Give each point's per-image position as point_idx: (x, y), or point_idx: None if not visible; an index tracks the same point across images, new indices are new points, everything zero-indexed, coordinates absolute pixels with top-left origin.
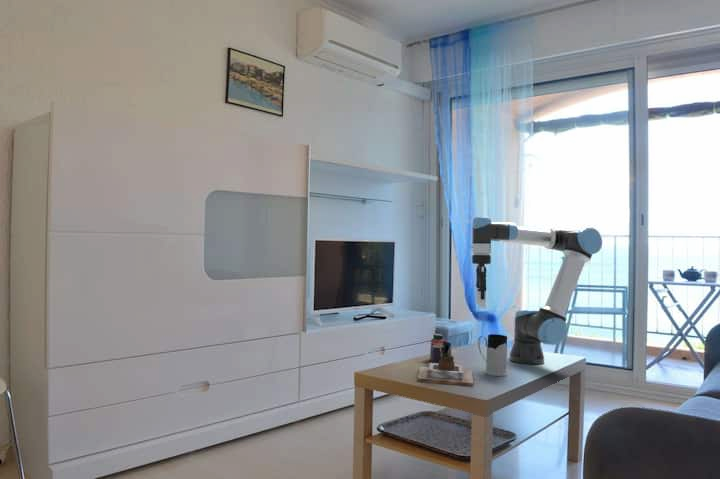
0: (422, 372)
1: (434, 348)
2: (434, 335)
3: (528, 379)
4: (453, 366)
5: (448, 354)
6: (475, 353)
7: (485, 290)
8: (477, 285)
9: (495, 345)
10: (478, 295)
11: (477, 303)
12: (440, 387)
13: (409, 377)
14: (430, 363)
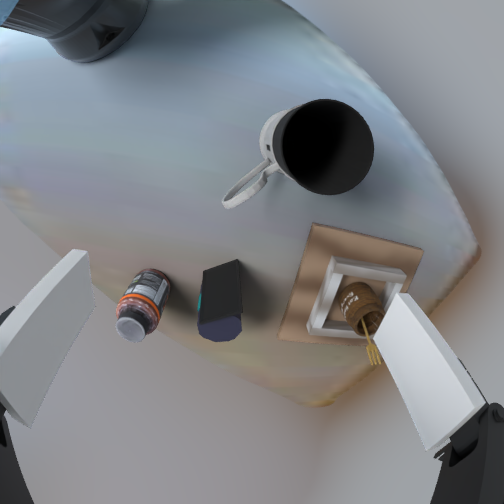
0: (336, 338)
1: (235, 336)
2: (140, 340)
3: (354, 74)
4: (376, 295)
5: (374, 322)
6: (34, 157)
7: (501, 410)
8: (12, 453)
9: (353, 166)
10: (55, 346)
11: (92, 298)
12: None
13: (347, 353)
14: (315, 334)
